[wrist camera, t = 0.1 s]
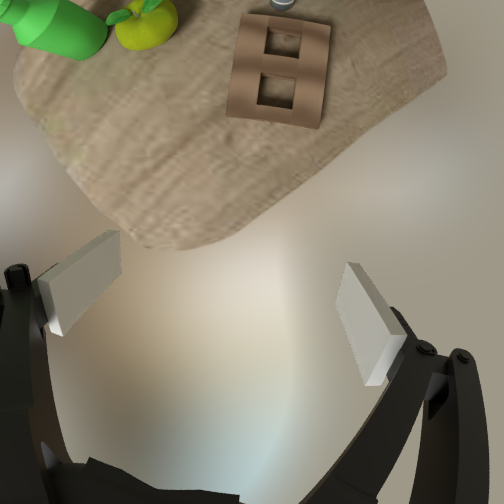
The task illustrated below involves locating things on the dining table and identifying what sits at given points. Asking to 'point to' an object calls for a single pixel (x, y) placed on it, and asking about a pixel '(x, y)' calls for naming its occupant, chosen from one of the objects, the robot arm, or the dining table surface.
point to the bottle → (55, 26)
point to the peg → (282, 4)
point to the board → (279, 70)
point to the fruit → (144, 23)
